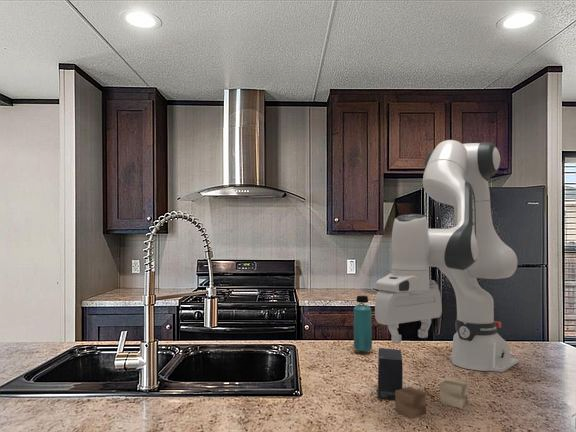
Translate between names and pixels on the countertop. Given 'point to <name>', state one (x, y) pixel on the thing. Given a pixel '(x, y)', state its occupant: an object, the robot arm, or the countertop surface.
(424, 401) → the walnut cube
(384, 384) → the small box
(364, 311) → the beverage bottle
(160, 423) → the countertop surface
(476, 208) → the robot arm
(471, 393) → the countertop surface
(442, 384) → the maple cube
